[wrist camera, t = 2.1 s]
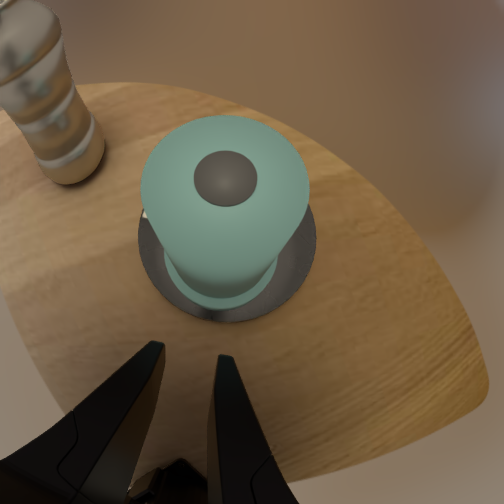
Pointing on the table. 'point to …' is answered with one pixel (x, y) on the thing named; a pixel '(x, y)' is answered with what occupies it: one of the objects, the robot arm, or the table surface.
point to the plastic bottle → (45, 93)
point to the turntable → (272, 296)
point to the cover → (223, 206)
